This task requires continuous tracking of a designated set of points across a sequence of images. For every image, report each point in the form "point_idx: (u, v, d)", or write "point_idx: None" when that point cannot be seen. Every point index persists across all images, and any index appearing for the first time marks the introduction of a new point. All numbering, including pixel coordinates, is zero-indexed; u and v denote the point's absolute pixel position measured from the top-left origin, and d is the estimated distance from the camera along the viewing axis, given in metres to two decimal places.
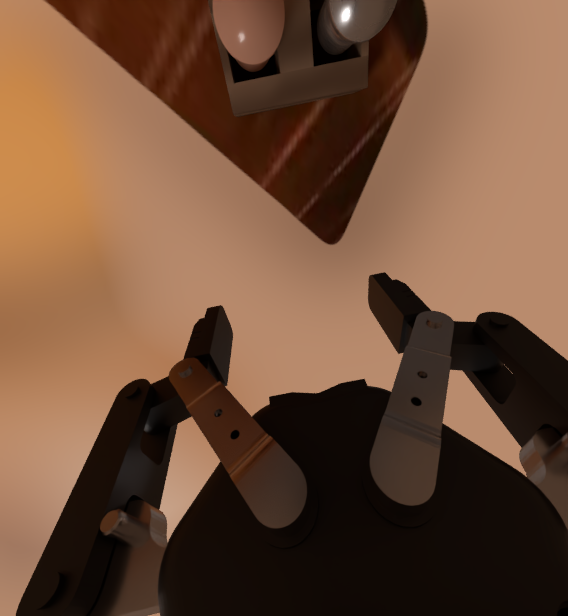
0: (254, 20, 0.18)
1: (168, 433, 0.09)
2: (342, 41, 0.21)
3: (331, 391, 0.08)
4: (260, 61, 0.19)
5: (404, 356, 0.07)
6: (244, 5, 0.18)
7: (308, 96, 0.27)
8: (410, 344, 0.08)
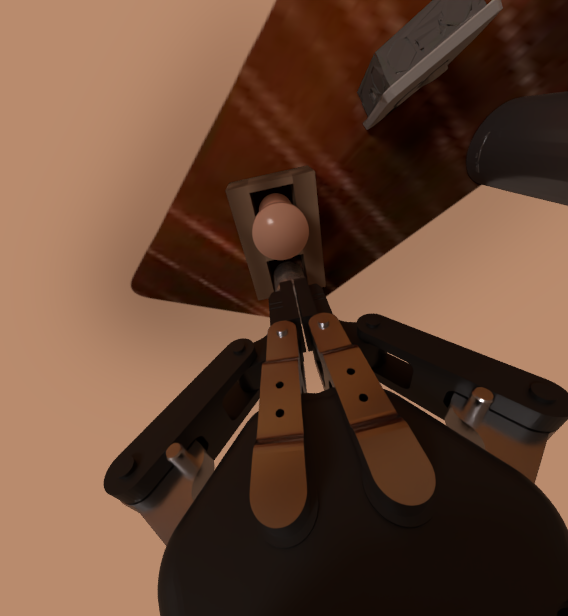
0: (277, 238, 0.23)
1: (252, 397, 0.10)
2: (275, 289, 0.30)
3: (331, 391, 0.08)
4: (254, 242, 0.23)
5: (327, 363, 0.08)
6: (284, 230, 0.22)
7: (248, 259, 0.32)
8: (320, 350, 0.09)
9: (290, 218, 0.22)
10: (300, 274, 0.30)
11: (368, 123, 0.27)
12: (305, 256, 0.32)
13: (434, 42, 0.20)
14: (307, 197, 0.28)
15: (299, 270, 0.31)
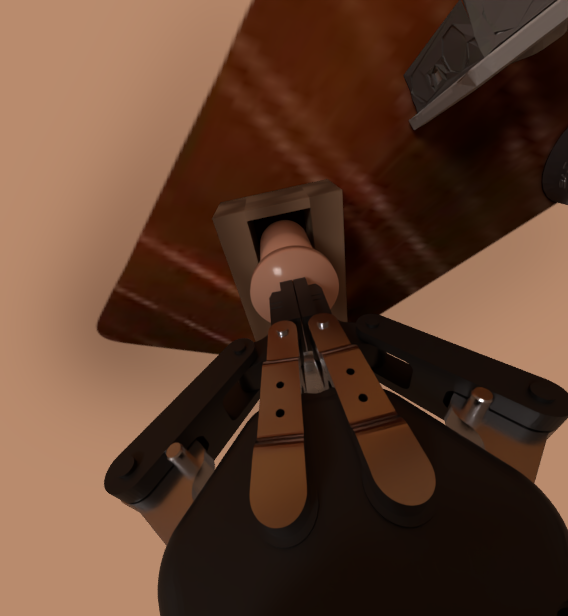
0: None
1: (252, 397, 0.10)
2: None
3: (331, 391, 0.08)
4: (253, 304, 0.15)
5: (327, 364, 0.08)
6: None
7: (245, 305, 0.24)
8: (320, 350, 0.09)
9: (311, 271, 0.14)
10: None
11: (420, 120, 0.18)
12: None
13: None
14: (329, 226, 0.20)
15: None
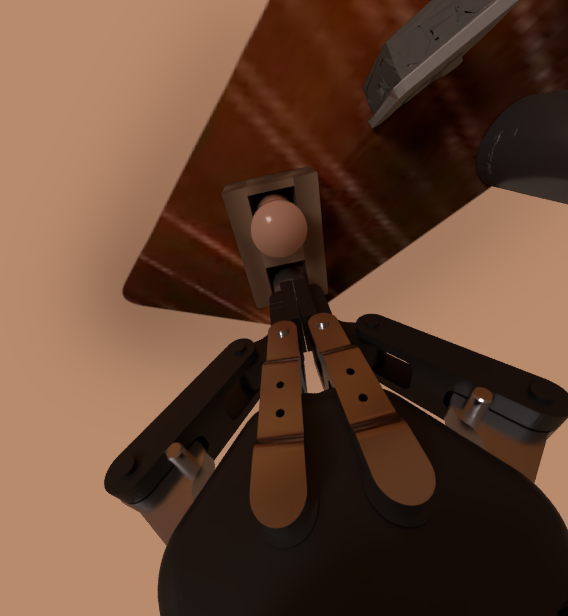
0: (275, 235, 0.23)
1: (252, 397, 0.10)
2: None
3: (331, 391, 0.08)
4: (253, 239, 0.23)
5: (327, 364, 0.08)
6: (283, 227, 0.22)
7: (246, 266, 0.30)
8: (320, 350, 0.09)
9: (288, 215, 0.22)
10: None
11: (374, 121, 0.25)
12: (307, 262, 0.31)
13: (450, 31, 0.18)
14: (309, 200, 0.26)
15: (300, 277, 0.29)
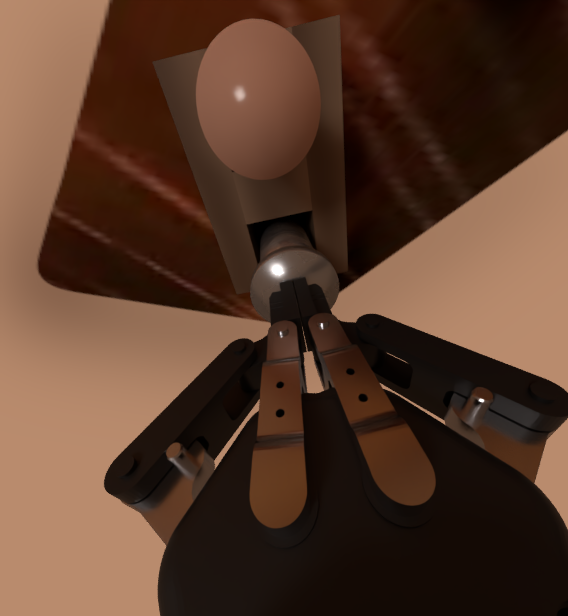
0: (252, 123, 0.11)
1: (252, 397, 0.10)
2: None
3: (331, 391, 0.08)
4: (204, 132, 0.11)
5: (327, 363, 0.08)
6: (268, 101, 0.10)
7: (213, 220, 0.18)
8: (320, 350, 0.09)
9: (279, 66, 0.10)
10: (304, 237, 0.17)
11: None
12: (315, 215, 0.18)
13: None
14: (321, 84, 0.14)
15: (302, 232, 0.18)
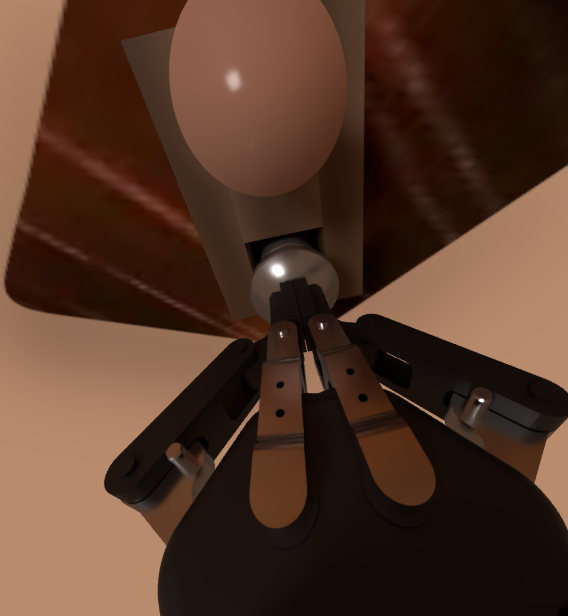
0: (251, 120, 0.08)
1: (252, 397, 0.10)
2: None
3: (331, 391, 0.08)
4: (183, 133, 0.08)
5: (327, 364, 0.08)
6: (273, 89, 0.07)
7: (204, 238, 0.15)
8: (320, 350, 0.09)
9: (290, 38, 0.07)
10: (304, 238, 0.17)
11: None
12: (326, 232, 0.15)
13: None
14: None
15: (302, 233, 0.18)
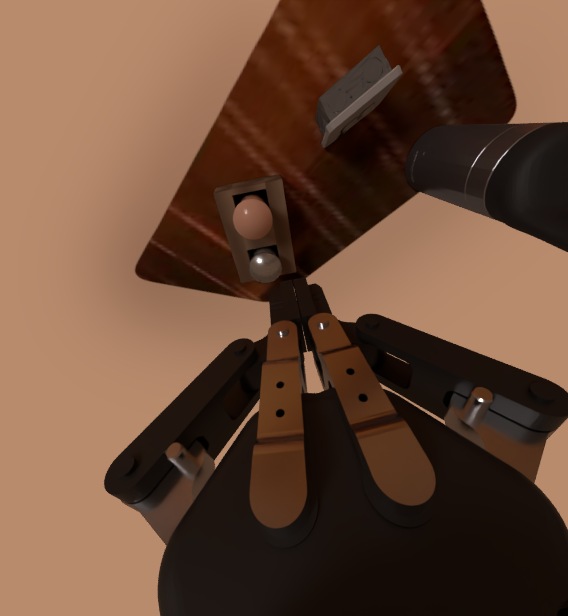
0: (250, 223, 0.33)
1: (252, 397, 0.10)
2: None
3: (331, 391, 0.08)
4: None
5: (327, 363, 0.08)
6: (255, 217, 0.32)
7: (232, 248, 0.40)
8: (320, 350, 0.09)
9: (259, 209, 0.32)
10: (271, 248, 0.42)
11: (323, 143, 0.35)
12: (278, 246, 0.40)
13: (359, 92, 0.28)
14: (277, 199, 0.36)
15: (271, 245, 0.43)
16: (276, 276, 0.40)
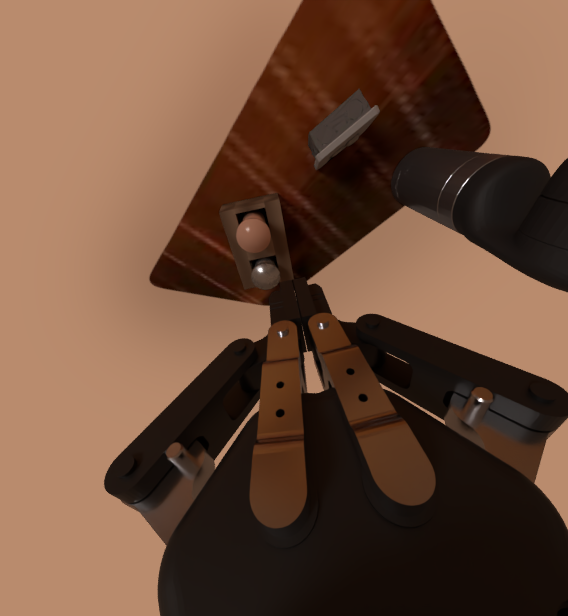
0: (251, 239, 0.37)
1: (252, 397, 0.10)
2: None
3: (331, 391, 0.08)
4: (237, 241, 0.37)
5: (327, 364, 0.08)
6: (255, 234, 0.37)
7: (235, 259, 0.45)
8: (320, 350, 0.09)
9: (258, 227, 0.36)
10: (271, 258, 0.47)
11: (316, 166, 0.40)
12: (277, 257, 0.45)
13: (343, 127, 0.32)
14: (275, 216, 0.41)
15: None
16: (275, 283, 0.45)
